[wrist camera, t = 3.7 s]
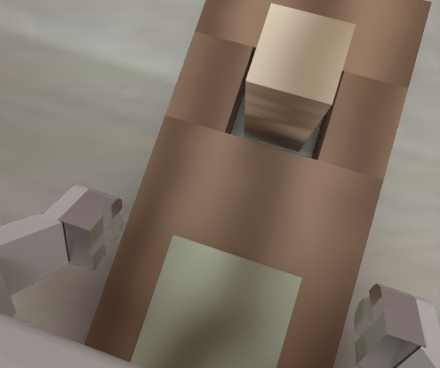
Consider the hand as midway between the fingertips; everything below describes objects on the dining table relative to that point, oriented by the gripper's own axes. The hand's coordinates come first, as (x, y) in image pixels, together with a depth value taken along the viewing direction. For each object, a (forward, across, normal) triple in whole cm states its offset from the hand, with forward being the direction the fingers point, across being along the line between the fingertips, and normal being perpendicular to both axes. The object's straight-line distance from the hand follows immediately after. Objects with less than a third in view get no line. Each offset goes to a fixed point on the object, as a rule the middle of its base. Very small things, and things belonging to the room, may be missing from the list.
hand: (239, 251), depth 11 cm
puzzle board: (+11, 0, +7) cm, 13 cm away
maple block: (+15, 0, +3) cm, 16 cm away
